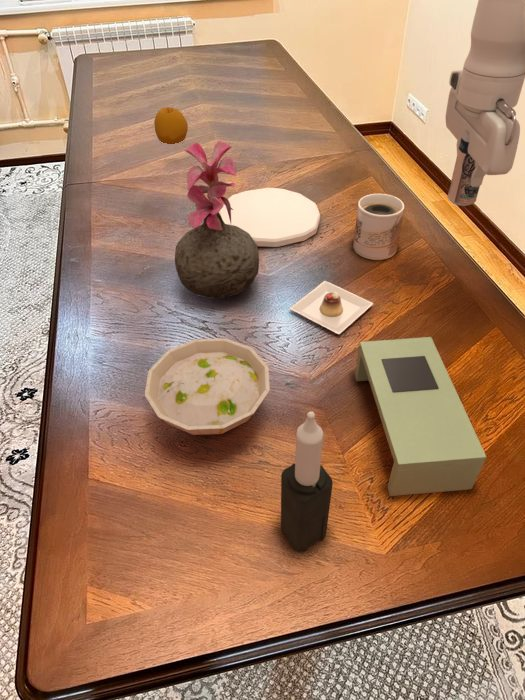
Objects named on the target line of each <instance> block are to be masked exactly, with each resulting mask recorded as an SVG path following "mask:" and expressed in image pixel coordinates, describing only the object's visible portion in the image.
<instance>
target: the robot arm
mask: <svg viewBox="0 0 525 700" xmlns="http://www.w3.org/2000/svg"><path fill="white" fill-rule="evenodd" d="M448 83H449V86H450V90H449V93H448V98H447V103H446V111H445V126H446V128H447V130H448V131H449V132H450V133H451V134H452V135H453V136H454V138H455V140H456V155H457V154H458V150H459V145H460V141H461V136H462V135H463V134H464V133H465V131H467V132H468V133H469V135H470V136H469V141H470V143H469V145H468V153H469V155H470V156H471V157H472V158H473V159H474V161H475V165H474V166H475V167H476V168H475V169H474V171H473V173H470V175H469V179H468V182H469V184H470V185H471V186H472V187H478V186H480V187H481V186H482V184H483V182H484V178H485V176H500V175H501V176H502V175H507V174H508V173H510V171H511V170H512V169H513V166H514V163H515V158H516V156H517V155H516V154H517V150H518V146H519V141H520V135H521V126H520V125H521V124H520V122H519V120H517V117H516V116H517V112H516V110H515V109H514V108H515V107H516V106H517V105H518V103H519V99H520V97H521V92H522V89H523V85H524V83H525V0H478V1H477V5H476V8H475V12H474V17H473V21H472V25H471V30H470V48H469V51H468V54H467V56H466V58H465V60H464V62H463V67H462V69H457V70H452V71H451V73H450V75H449V82H448Z"/></svg>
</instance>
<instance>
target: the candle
mask: <svg viewBox="0 0 525 700" xmlns="http://www.w3.org/2000/svg"><path fill="white" fill-rule="evenodd" d="M306 417H307V418H306V420H305V421H304V422H303V423H302V424H300V425H299V426H298V427H297V430H296V434H295V435H296V437H295V460H294V463H292V464H291V465H290V466H287V467H286V468H284V469H283V471H282V472H281V476H280V530H281V533H283V535H284V536H285V538H286V540H287V541H288V543H290V545H291V547H292V548H293V549H294V550H295V551H296V552H299V553H303V552H306V551H307V550H308V548H310V547H311V546H313V545H315V544H317V542H319V541H323V540H325V538H326V535H327V530H328V524H329V523H328V522H329V516H330V508H331V499H332V492H333V483H334V482H333V479H332V477H331V476H330V474H329V473H328V472H327V471H326V469H325V468H324V466H323V465H322V455H323V454H322V453H323V442H324V431H323V428H322V427H321V426H320V425H319V424H318V423H317V421H316V419H315V418H316V413H315V412H314V411H309V412H307V414H306Z"/></svg>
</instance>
